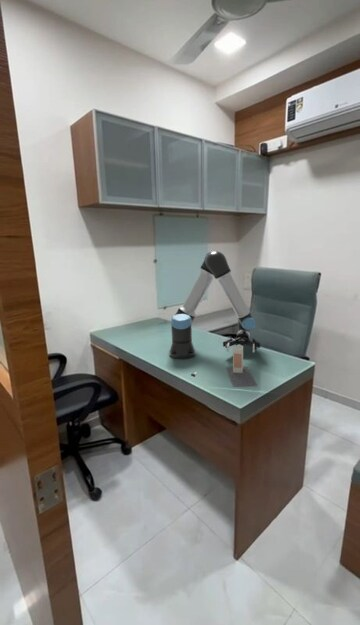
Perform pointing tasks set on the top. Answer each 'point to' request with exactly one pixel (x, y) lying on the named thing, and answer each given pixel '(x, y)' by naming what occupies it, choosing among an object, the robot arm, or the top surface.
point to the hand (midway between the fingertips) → (240, 349)
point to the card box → (238, 359)
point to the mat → (241, 378)
